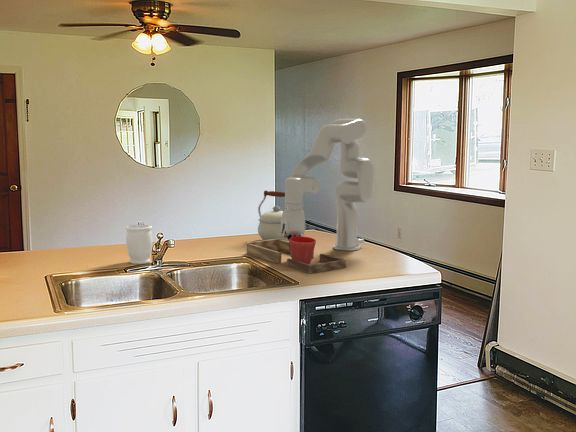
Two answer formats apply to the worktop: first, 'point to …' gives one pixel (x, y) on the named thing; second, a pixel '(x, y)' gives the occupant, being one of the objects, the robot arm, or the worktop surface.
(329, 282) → the worktop surface
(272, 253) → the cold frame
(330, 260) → the bay
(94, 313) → the worktop surface
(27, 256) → the worktop surface
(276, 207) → the kettle
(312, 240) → the flower pot
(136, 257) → the jar
